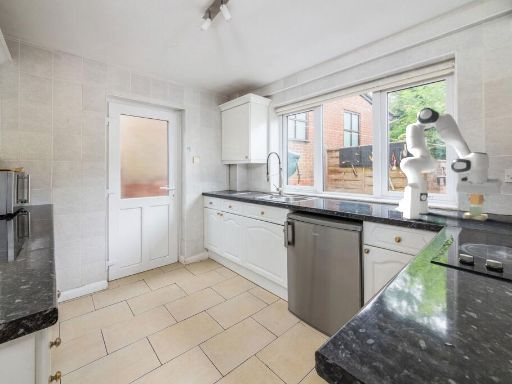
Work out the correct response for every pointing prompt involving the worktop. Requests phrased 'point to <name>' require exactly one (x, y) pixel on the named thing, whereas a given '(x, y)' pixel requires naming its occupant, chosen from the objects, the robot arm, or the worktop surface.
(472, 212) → the sage block
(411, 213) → the milk
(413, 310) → the worktop surface
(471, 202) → the orange block
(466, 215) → the base board
